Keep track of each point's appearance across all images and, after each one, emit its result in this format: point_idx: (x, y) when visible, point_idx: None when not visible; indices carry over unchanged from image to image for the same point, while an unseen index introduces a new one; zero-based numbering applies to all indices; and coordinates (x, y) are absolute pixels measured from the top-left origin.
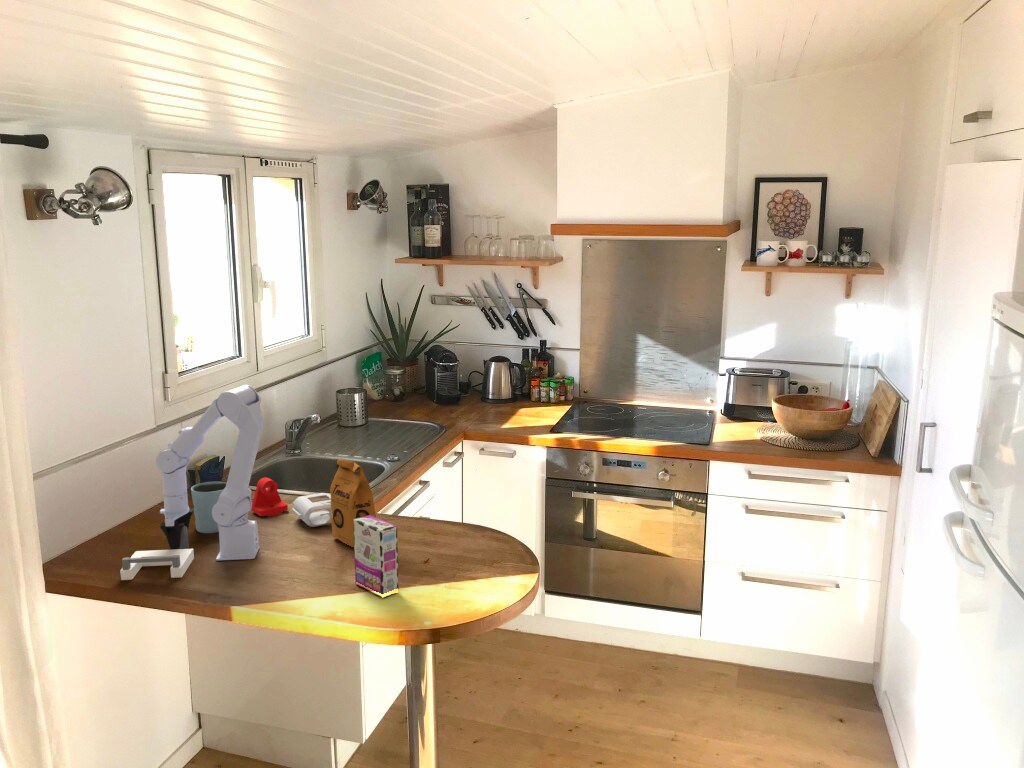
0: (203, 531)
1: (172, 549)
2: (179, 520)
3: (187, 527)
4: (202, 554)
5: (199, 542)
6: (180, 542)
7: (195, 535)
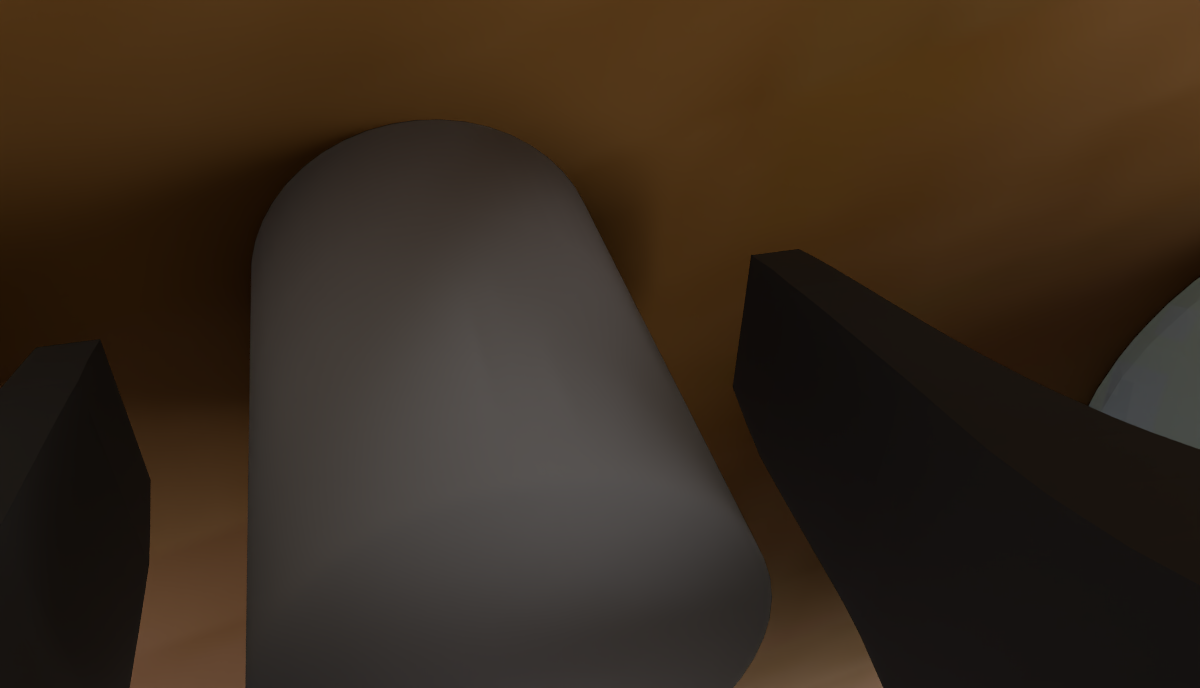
0: (1138, 367)
1: (270, 244)
2: (983, 618)
3: (835, 577)
4: (227, 647)
5: (746, 436)
6: (138, 606)
7: (1076, 277)
